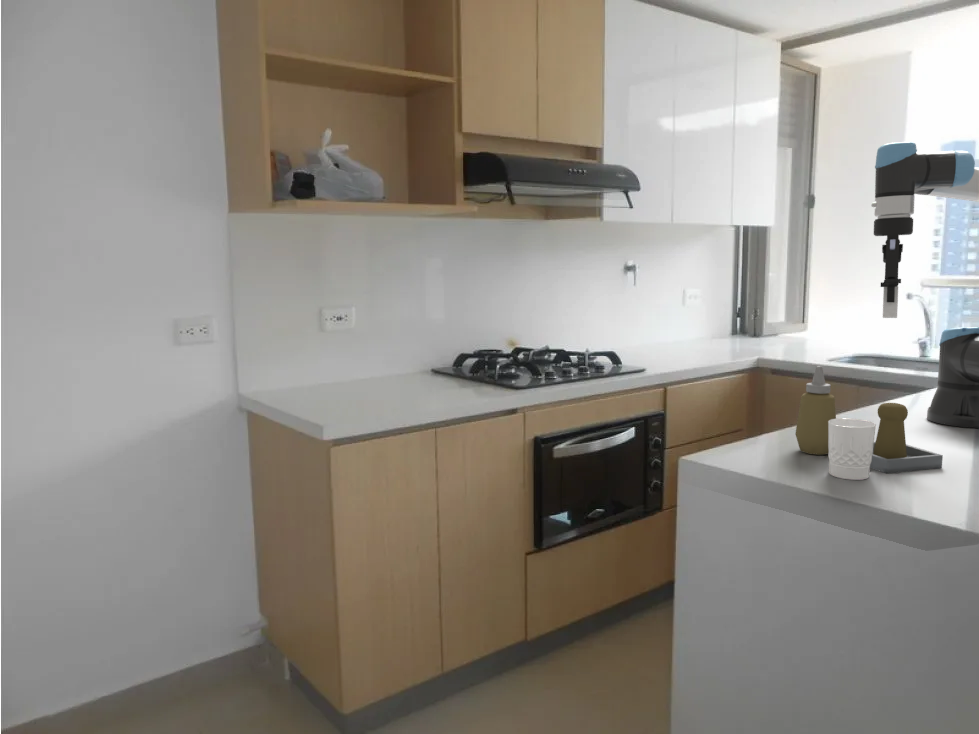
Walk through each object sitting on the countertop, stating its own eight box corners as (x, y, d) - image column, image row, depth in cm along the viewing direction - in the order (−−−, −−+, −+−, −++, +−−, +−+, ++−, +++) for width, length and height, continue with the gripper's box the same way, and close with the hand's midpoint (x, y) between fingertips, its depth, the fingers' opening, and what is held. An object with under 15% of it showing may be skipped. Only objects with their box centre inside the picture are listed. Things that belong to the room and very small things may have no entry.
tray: (891, 451, 156) (892, 440, 155) (941, 467, 143) (942, 455, 143) (839, 456, 152) (840, 444, 152) (886, 473, 140) (887, 460, 140)
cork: (901, 454, 150) (904, 400, 149) (911, 462, 144) (915, 406, 143) (868, 453, 151) (871, 400, 150) (877, 461, 146) (881, 406, 144)
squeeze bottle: (808, 457, 152) (812, 370, 149) (786, 448, 160) (790, 364, 157) (844, 455, 153) (849, 368, 151) (821, 446, 161) (825, 363, 159)
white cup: (878, 482, 135) (881, 427, 134) (832, 480, 137) (834, 426, 135) (864, 470, 143) (867, 418, 142) (820, 468, 144) (823, 417, 143)
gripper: (875, 219, 175) (872, 310, 178) (872, 216, 153) (869, 320, 156) (912, 217, 171) (908, 310, 174) (914, 214, 149) (910, 320, 152)
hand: (890, 315), depth 165 cm, fingers open, 13 cm apart
